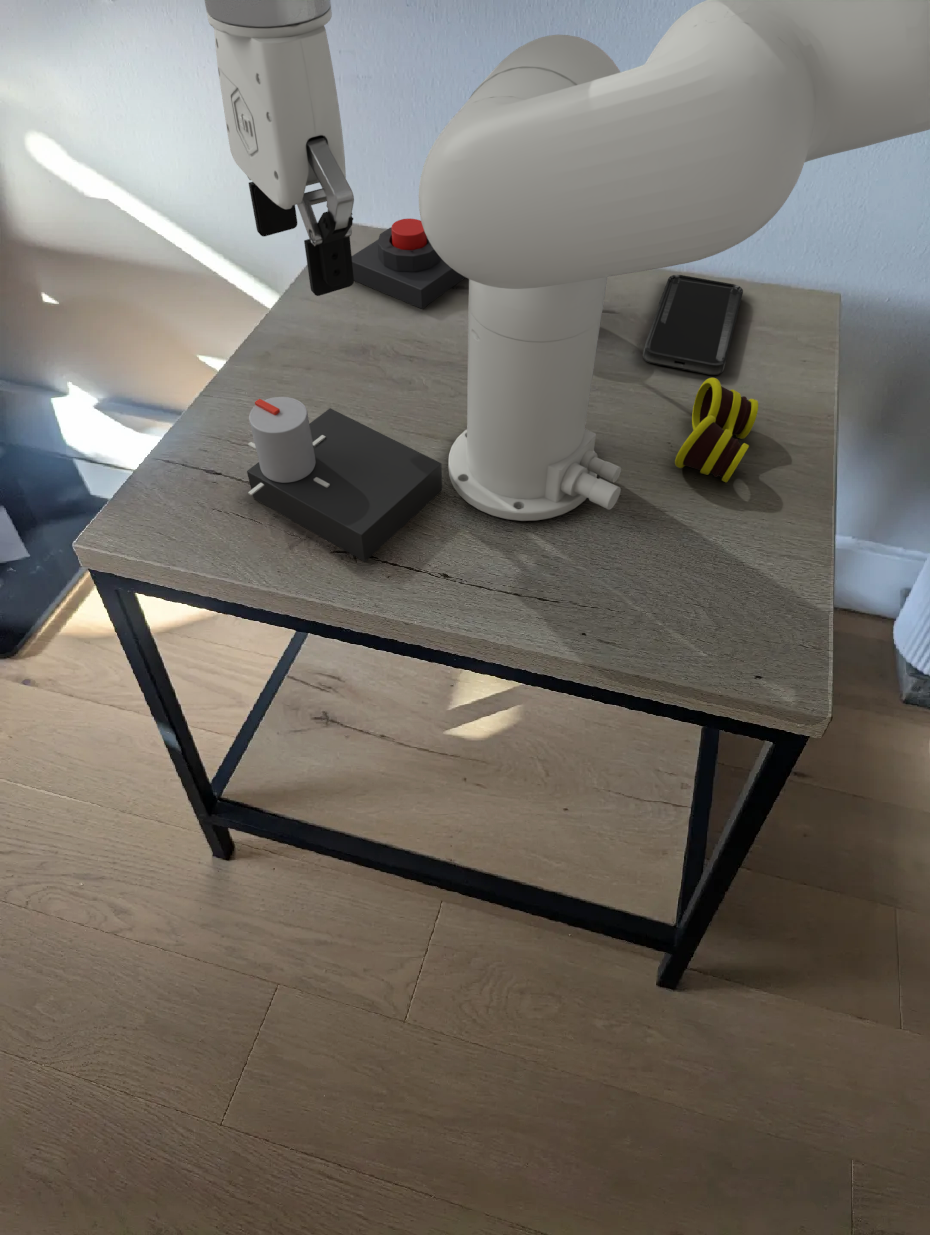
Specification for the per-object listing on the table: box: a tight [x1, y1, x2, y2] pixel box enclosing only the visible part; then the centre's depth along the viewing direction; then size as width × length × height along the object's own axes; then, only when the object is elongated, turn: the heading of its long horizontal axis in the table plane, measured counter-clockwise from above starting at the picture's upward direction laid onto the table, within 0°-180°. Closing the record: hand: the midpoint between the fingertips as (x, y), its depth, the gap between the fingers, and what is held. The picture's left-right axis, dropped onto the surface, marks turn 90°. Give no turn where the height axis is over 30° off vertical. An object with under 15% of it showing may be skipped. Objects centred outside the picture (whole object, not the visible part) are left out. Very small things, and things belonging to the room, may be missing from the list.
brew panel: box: [246, 407, 443, 563], centre depth 70 cm, size 14×12×3 cm
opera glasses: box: [674, 377, 759, 483], centre depth 74 cm, size 10×5×5 cm, turn 160°
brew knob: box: [248, 396, 316, 483], centre depth 67 cm, size 4×4×5 cm
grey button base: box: [352, 227, 466, 310], centre depth 92 cm, size 10×9×4 cm
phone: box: [642, 274, 744, 376], centre depth 87 cm, size 8×1×15 cm
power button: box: [390, 218, 427, 250], centre depth 90 cm, size 4×4×2 cm
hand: (304, 259), depth 65 cm, fingers open, 9 cm apart
